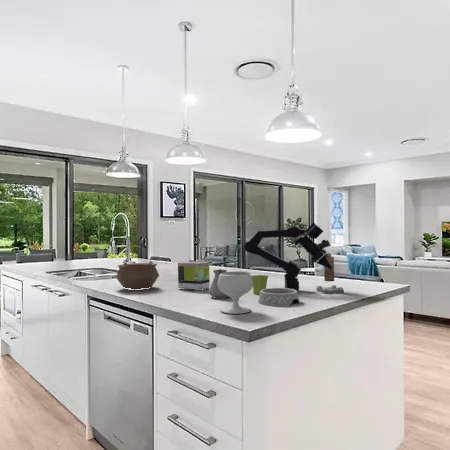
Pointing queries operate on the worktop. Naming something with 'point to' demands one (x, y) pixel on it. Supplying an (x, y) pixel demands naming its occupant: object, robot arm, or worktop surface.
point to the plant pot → (259, 283)
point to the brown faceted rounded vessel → (137, 275)
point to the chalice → (235, 289)
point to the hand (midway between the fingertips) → (332, 267)
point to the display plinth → (330, 289)
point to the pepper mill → (327, 271)
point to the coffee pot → (214, 288)
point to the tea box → (193, 275)
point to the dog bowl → (278, 296)
